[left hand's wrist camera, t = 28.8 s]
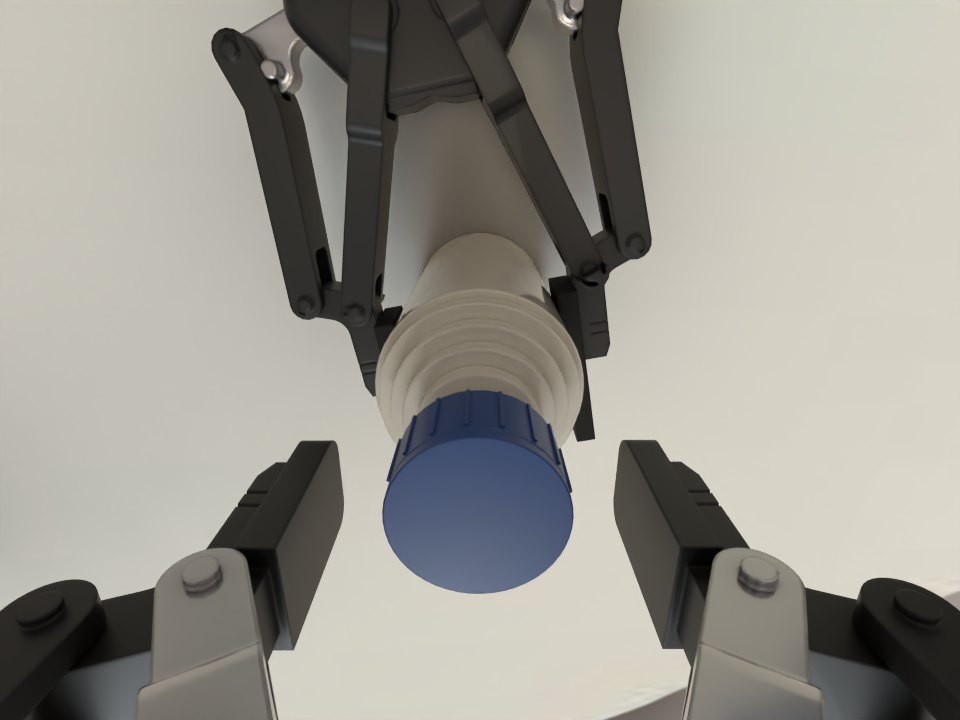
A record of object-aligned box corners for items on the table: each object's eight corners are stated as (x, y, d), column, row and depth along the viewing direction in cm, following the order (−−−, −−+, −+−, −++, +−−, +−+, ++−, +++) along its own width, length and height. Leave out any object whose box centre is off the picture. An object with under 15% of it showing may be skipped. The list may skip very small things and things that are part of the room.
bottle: (465, 206, 26) (435, 288, 9) (566, 280, 27) (696, 465, 11) (396, 308, 28) (271, 525, 11) (494, 373, 29) (510, 651, 13)
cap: (458, 353, 11) (453, 395, 9) (595, 444, 12) (617, 502, 10) (366, 476, 12) (343, 537, 10) (496, 552, 13) (499, 623, 11)
